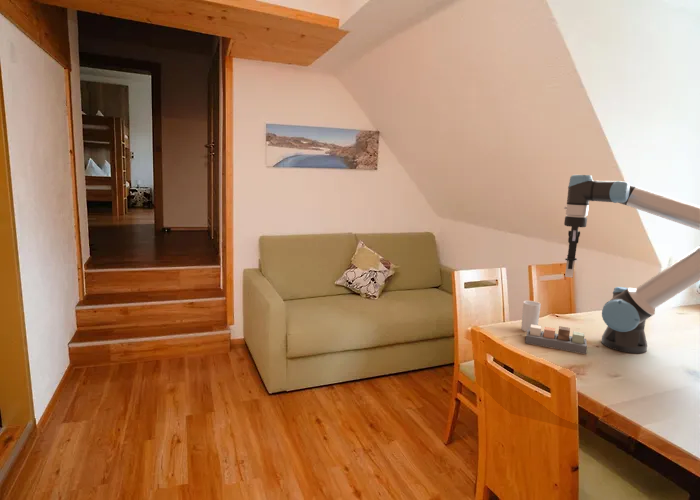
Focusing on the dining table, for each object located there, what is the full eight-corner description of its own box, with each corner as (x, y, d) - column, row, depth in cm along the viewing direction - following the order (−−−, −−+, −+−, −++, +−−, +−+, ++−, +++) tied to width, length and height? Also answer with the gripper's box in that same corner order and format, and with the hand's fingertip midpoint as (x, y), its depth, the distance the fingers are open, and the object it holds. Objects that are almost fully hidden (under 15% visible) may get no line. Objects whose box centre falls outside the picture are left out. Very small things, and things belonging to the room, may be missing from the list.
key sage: (582, 343, 166) (584, 333, 166) (583, 346, 163) (584, 336, 162) (571, 341, 168) (573, 331, 167) (571, 344, 165) (573, 334, 164)
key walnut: (568, 337, 168) (569, 327, 168) (568, 340, 165) (569, 330, 164) (557, 335, 170) (559, 326, 169) (557, 338, 167) (558, 328, 166)
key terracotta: (554, 338, 171) (555, 328, 170) (553, 341, 167) (555, 331, 167) (543, 336, 172) (544, 326, 172) (543, 339, 169) (544, 329, 168)
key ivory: (540, 335, 173) (541, 326, 172) (539, 338, 169) (540, 328, 169) (530, 333, 174) (531, 324, 174) (529, 336, 171) (530, 327, 170)
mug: (534, 334, 180) (537, 306, 178) (518, 329, 184) (520, 302, 182) (542, 328, 187) (545, 301, 185) (526, 324, 192) (529, 298, 190)
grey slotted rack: (585, 346, 168) (586, 338, 168) (586, 354, 160) (587, 346, 160) (527, 335, 178) (528, 328, 177) (525, 342, 170) (526, 335, 169)
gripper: (565, 214, 172) (558, 272, 176) (565, 216, 160) (557, 278, 164) (586, 215, 168) (579, 274, 172) (588, 218, 157) (580, 281, 161)
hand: (568, 276), depth 168 cm, fingers closed
